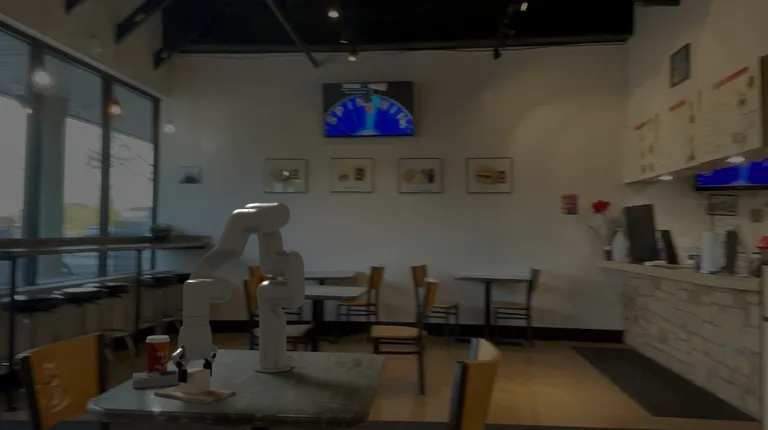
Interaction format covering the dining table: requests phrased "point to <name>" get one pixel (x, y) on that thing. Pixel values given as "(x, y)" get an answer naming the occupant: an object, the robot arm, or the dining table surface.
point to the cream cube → (196, 381)
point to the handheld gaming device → (155, 379)
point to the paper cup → (157, 353)
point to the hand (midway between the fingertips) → (195, 379)
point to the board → (197, 398)
